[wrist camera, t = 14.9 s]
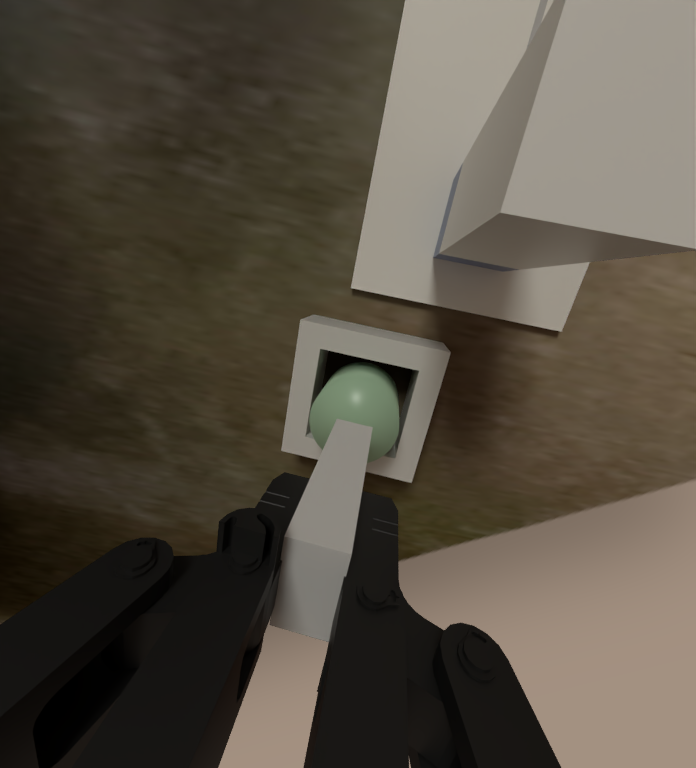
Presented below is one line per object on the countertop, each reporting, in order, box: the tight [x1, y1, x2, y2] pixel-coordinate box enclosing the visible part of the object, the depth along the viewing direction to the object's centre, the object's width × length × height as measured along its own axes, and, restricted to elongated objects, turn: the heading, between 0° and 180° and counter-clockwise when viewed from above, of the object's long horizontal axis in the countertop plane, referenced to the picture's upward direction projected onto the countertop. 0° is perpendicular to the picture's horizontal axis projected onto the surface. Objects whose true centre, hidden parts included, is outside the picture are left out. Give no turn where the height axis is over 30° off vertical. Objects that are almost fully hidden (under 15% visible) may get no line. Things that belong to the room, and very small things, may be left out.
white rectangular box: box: [433, 0, 696, 272], centre depth 11 cm, size 4×4×12 cm
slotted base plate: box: [351, 0, 590, 332], centre depth 16 cm, size 16×12×1 cm
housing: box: [281, 315, 451, 483], centre depth 20 cm, size 8×8×3 cm
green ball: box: [309, 362, 399, 463], centre depth 18 cm, size 4×4×4 cm
